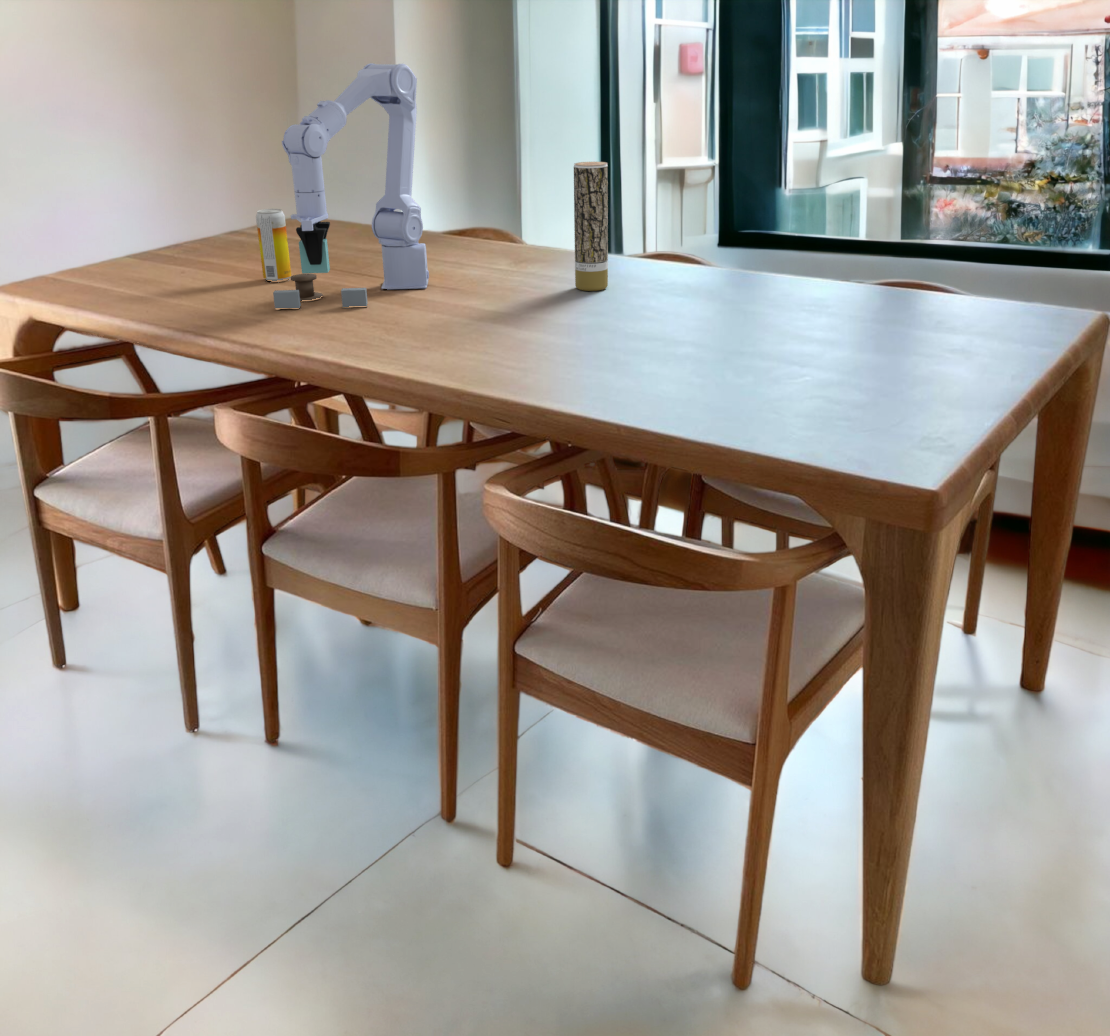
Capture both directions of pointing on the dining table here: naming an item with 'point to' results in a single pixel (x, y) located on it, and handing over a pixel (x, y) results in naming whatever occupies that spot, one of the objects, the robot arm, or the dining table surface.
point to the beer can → (273, 244)
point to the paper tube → (591, 225)
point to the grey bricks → (293, 301)
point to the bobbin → (305, 286)
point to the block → (308, 268)
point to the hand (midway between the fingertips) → (316, 262)
